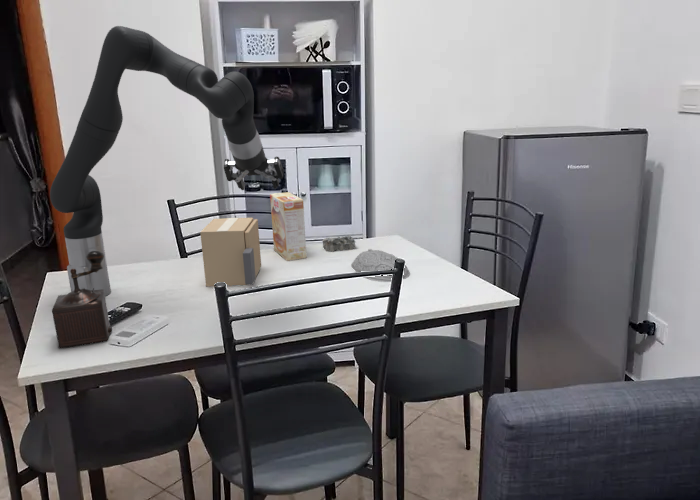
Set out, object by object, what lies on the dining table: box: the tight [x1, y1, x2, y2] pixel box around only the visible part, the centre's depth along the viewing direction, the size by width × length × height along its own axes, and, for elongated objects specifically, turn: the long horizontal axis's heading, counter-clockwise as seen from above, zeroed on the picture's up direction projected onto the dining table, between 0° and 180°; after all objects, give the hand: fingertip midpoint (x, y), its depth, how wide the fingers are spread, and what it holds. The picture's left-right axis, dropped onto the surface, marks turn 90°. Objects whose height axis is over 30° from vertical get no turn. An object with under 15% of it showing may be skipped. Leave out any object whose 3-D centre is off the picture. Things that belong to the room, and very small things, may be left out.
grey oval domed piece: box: [350, 248, 411, 283], centre depth 176 cm, size 16×25×7 cm, turn 27°
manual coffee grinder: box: [51, 251, 113, 349], centre depth 136 cm, size 16×11×18 cm
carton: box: [199, 217, 254, 288], centre depth 172 cm, size 16×12×16 cm
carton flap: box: [243, 218, 262, 286], centre depth 169 cm, size 21×2×15 cm, turn 179°
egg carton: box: [321, 234, 356, 253], centre depth 200 cm, size 11×8×4 cm
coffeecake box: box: [269, 191, 307, 262], centre depth 193 cm, size 15×7×20 cm, turn 23°
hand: (259, 186), depth 153 cm, fingers open, 8 cm apart
